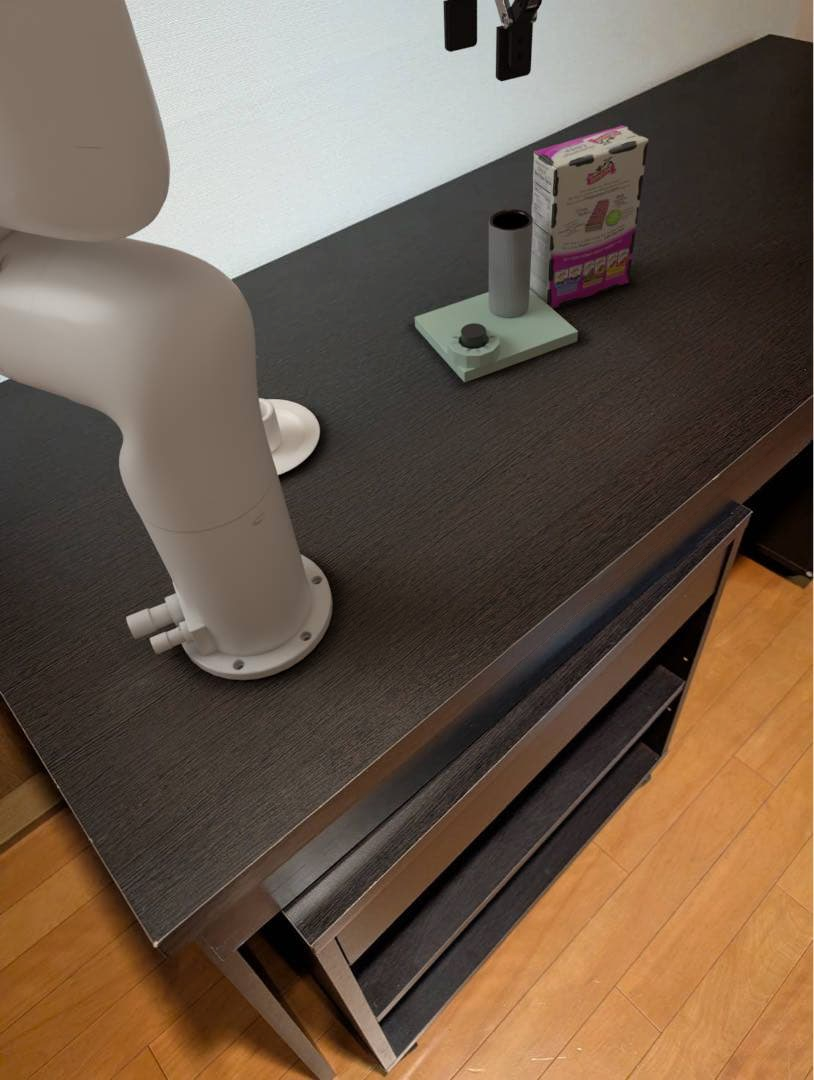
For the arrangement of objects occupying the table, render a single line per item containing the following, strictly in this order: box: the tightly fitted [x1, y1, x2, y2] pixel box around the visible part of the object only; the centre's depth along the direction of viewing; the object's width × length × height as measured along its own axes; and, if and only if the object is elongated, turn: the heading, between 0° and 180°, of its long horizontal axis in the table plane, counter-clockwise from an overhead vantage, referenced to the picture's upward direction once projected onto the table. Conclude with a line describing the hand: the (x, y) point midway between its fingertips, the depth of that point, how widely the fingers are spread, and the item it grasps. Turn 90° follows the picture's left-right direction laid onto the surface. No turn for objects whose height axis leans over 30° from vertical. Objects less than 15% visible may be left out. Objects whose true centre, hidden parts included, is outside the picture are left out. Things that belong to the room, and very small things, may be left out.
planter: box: [488, 208, 533, 318], centre depth 82 cm, size 4×4×10 cm
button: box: [461, 323, 486, 349], centre depth 80 cm, size 3×3×2 cm
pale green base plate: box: [414, 290, 579, 383], centre depth 84 cm, size 14×12×3 cm
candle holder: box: [259, 397, 321, 476], centre depth 75 cm, size 12×12×4 cm
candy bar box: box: [530, 125, 649, 310], centre depth 84 cm, size 11×5×16 cm, turn 114°
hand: (485, 62), depth 69 cm, fingers open, 9 cm apart
